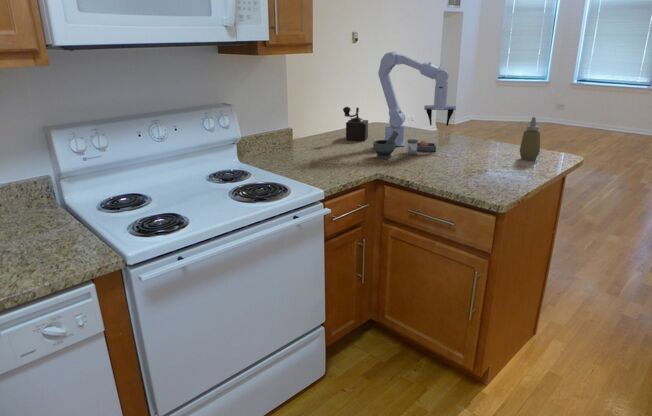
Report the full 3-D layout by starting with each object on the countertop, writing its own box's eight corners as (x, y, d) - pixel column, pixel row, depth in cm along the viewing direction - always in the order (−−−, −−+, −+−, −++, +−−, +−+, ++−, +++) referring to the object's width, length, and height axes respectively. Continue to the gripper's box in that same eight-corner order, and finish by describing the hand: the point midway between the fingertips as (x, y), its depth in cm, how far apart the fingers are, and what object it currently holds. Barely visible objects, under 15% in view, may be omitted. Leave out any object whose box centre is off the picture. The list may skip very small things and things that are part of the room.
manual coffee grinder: (348, 136, 254) (348, 103, 248) (368, 137, 252) (368, 103, 246) (342, 142, 240) (341, 107, 234) (363, 143, 238) (363, 107, 231)
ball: (419, 147, 224) (420, 138, 223) (428, 147, 223) (428, 139, 222) (419, 149, 221) (419, 140, 219) (427, 149, 220) (428, 141, 218)
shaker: (406, 155, 212) (407, 141, 209) (407, 153, 216) (407, 139, 213) (416, 156, 211) (417, 141, 208) (417, 153, 215) (418, 139, 212)
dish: (411, 151, 220) (411, 146, 219) (412, 147, 227) (412, 142, 226) (435, 151, 217) (435, 146, 217) (435, 147, 225) (435, 143, 224)
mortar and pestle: (371, 159, 207) (371, 132, 203) (374, 154, 216) (374, 128, 211) (397, 160, 205) (398, 133, 200) (398, 155, 213) (399, 129, 209)
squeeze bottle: (540, 161, 197) (546, 119, 190) (520, 161, 198) (525, 118, 192) (536, 157, 204) (542, 115, 198) (516, 156, 206) (521, 115, 199)
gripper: (424, 97, 217) (423, 126, 222) (457, 97, 214) (454, 127, 219) (425, 95, 223) (423, 123, 228) (456, 95, 220) (454, 124, 225)
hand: (438, 125), depth 224 cm, fingers open, 7 cm apart
